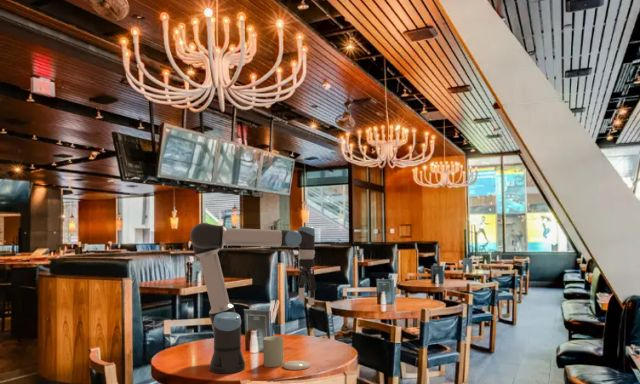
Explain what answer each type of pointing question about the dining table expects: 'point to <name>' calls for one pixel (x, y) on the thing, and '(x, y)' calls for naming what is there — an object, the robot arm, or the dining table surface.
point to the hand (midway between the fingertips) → (306, 303)
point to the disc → (296, 365)
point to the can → (273, 351)
